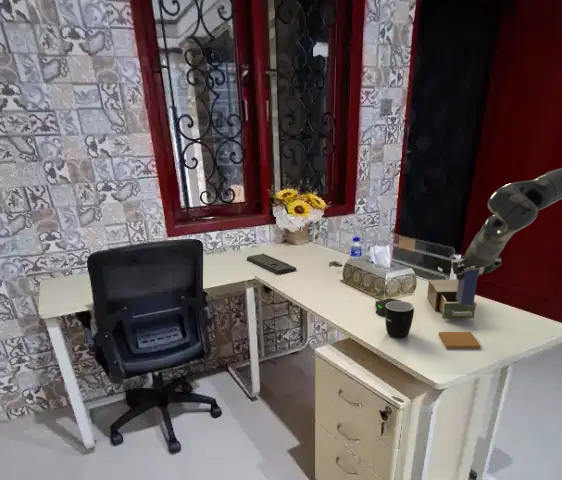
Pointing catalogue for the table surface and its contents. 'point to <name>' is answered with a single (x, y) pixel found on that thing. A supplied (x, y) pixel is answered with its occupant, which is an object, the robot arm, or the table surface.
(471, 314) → the drawer
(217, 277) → the table surface
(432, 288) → the cabinet
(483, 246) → the robot arm
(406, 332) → the mug
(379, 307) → the black electronic device
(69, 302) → the table surface
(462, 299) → the card box
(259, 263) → the keyboard
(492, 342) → the table surface
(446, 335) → the cork pad
